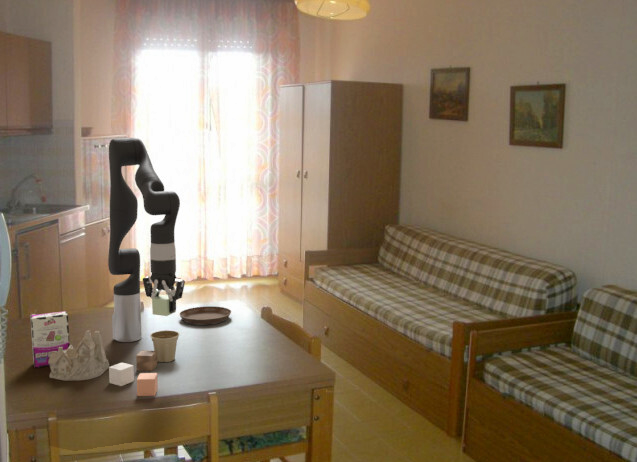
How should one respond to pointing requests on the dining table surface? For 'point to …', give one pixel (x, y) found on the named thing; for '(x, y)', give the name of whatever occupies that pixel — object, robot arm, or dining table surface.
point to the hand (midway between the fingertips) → (164, 311)
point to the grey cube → (121, 374)
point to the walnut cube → (146, 360)
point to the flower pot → (165, 344)
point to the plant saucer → (205, 315)
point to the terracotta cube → (147, 384)
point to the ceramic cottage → (80, 360)
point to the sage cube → (161, 305)
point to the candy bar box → (48, 335)
